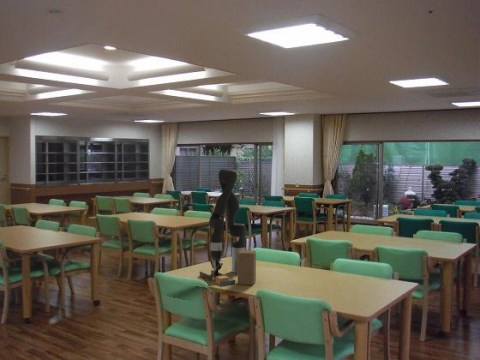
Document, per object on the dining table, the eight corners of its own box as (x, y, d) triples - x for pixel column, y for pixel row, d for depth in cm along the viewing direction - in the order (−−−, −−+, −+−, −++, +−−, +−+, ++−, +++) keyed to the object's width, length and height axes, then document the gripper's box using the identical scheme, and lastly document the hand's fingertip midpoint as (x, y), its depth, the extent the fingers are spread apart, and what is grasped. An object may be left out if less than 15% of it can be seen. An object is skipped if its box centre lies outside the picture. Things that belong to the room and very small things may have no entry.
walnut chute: (212, 274, 321) (212, 269, 321) (224, 279, 307) (224, 274, 307) (199, 276, 316) (199, 271, 316) (210, 281, 302) (210, 276, 302)
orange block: (224, 281, 303) (224, 275, 302) (228, 283, 297) (228, 277, 297) (215, 282, 300) (215, 276, 299) (220, 284, 294) (220, 278, 294)
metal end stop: (234, 283, 297) (234, 279, 297) (235, 284, 296) (235, 280, 296) (220, 285, 292) (220, 281, 292) (221, 286, 291) (221, 282, 290)
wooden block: (253, 285, 292) (253, 253, 291) (237, 284, 294) (237, 252, 293) (256, 281, 301) (256, 250, 301) (240, 281, 303) (240, 249, 303)
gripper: (226, 250, 303) (226, 277, 303) (216, 247, 314) (216, 273, 315) (216, 251, 299) (216, 278, 299) (206, 248, 310) (206, 274, 311)
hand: (216, 275), depth 307 cm, fingers closed
